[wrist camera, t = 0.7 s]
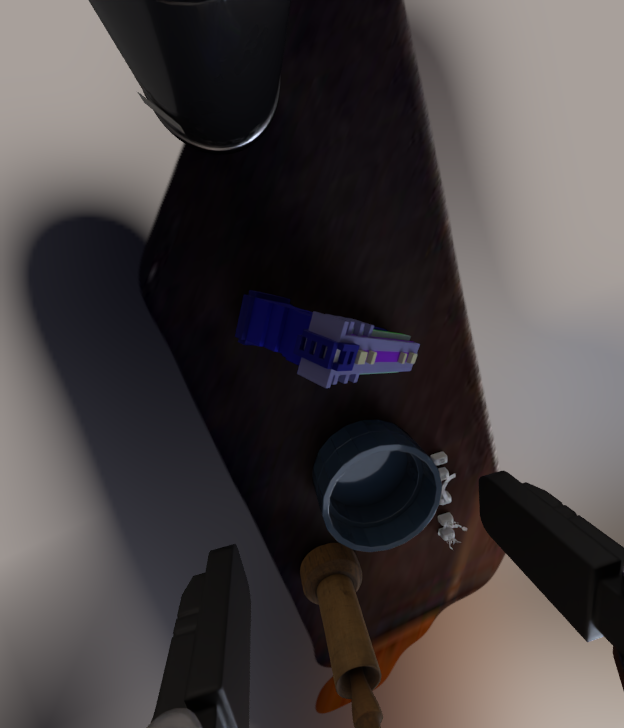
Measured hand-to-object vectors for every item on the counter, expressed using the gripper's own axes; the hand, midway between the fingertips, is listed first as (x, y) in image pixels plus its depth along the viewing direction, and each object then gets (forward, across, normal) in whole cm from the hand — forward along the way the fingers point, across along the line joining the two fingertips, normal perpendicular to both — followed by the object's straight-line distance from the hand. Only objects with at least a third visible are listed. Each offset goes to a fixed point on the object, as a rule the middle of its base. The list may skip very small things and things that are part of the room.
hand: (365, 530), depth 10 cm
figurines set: (+21, -14, +19) cm, 32 cm away
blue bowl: (+21, -5, +12) cm, 25 cm away
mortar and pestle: (+21, 0, +24) cm, 32 cm away
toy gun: (+20, -4, -2) cm, 21 cm away
